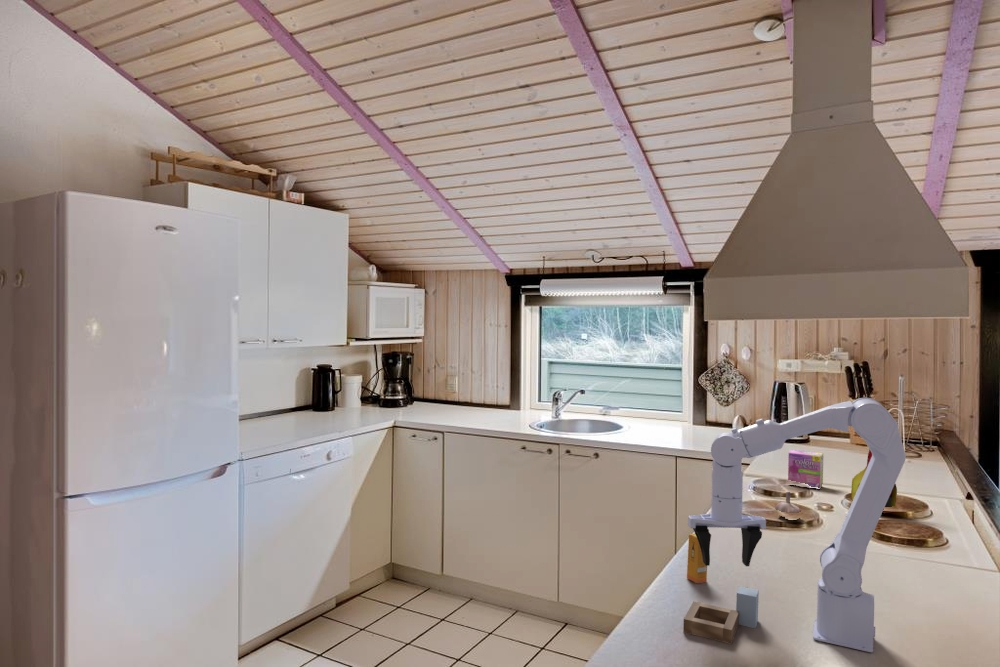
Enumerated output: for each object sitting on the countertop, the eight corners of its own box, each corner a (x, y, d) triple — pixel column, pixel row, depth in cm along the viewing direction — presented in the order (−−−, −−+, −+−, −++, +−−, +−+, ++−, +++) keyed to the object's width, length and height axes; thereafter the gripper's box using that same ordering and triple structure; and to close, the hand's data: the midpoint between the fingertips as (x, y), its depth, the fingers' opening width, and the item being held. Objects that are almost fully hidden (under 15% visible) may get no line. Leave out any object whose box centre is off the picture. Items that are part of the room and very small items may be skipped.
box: (787, 485, 227) (788, 452, 227) (790, 482, 232) (791, 449, 231) (820, 490, 221) (821, 456, 221) (822, 487, 226) (823, 453, 225)
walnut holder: (738, 624, 124) (739, 611, 124) (731, 643, 116) (731, 630, 116) (693, 613, 128) (693, 601, 128) (683, 632, 120) (683, 618, 120)
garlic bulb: (775, 513, 194) (776, 487, 194) (802, 517, 191) (803, 490, 191) (774, 520, 188) (774, 493, 187) (802, 524, 184) (802, 496, 184)
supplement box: (708, 581, 143) (709, 536, 143) (696, 584, 142) (697, 538, 142) (698, 576, 146) (699, 532, 146) (685, 578, 145) (687, 534, 145)
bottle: (897, 513, 196) (899, 447, 196) (894, 518, 191) (896, 450, 191) (853, 505, 204) (855, 442, 203) (848, 510, 199) (850, 445, 198)
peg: (757, 620, 125) (758, 590, 125) (755, 628, 122) (756, 596, 122) (738, 616, 127) (739, 586, 127) (735, 623, 124) (736, 592, 124)
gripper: (757, 490, 131) (756, 557, 131) (684, 489, 131) (683, 555, 131) (770, 500, 124) (769, 570, 124) (693, 499, 124) (692, 569, 124)
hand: (725, 564), depth 127 cm, fingers open, 7 cm apart
